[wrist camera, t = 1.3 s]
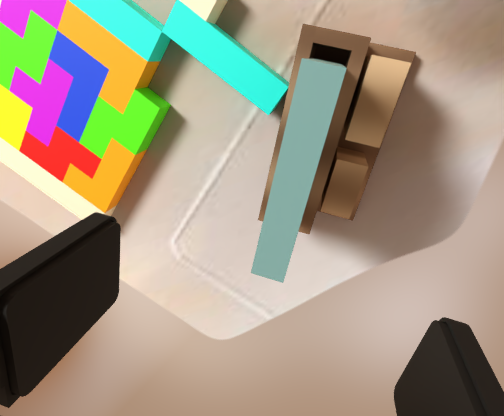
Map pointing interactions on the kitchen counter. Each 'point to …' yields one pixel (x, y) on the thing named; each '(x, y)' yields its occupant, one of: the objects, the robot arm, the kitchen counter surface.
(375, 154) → the rack
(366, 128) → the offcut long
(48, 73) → the puzzle game
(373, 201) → the kitchen counter surface
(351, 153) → the offcut short
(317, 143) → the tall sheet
